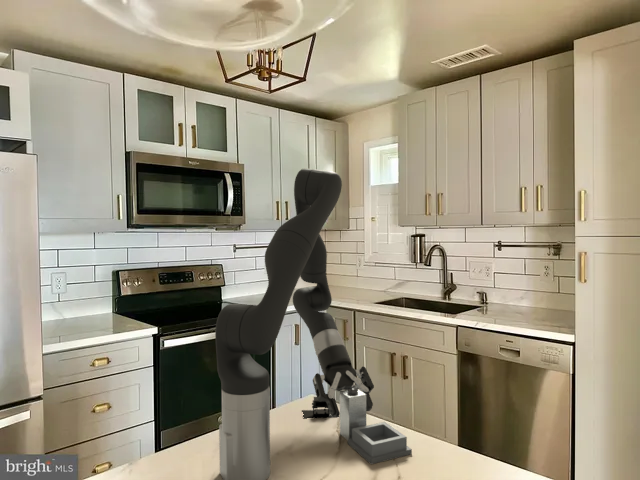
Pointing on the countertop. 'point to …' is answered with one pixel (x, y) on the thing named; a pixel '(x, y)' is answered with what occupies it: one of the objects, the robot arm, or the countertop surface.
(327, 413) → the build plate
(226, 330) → the robot arm
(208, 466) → the countertop surface
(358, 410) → the knobbed grey block
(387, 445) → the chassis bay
